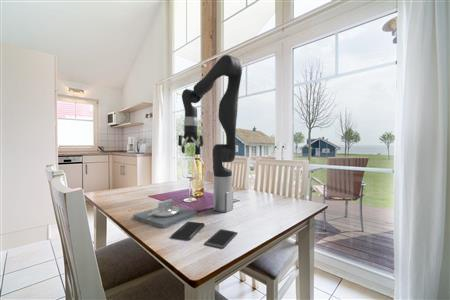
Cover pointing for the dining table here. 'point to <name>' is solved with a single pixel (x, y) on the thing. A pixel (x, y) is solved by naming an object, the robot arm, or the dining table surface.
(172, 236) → the phone
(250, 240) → the dining table surface
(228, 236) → the cell phone
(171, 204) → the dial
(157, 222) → the dial base
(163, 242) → the dining table surface
